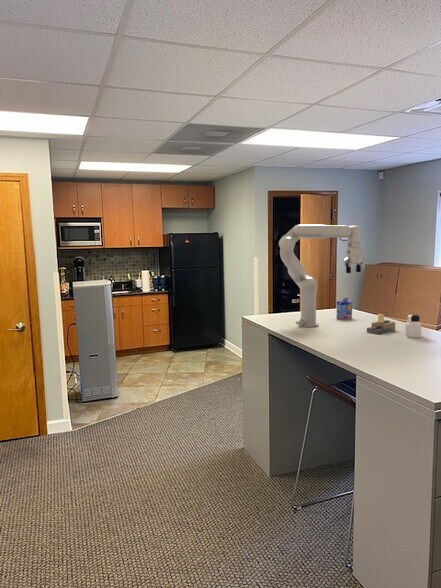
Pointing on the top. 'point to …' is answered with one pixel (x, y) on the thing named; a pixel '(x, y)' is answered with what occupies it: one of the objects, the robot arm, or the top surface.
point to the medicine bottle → (413, 326)
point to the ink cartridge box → (344, 309)
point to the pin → (381, 318)
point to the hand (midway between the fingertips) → (353, 272)
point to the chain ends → (381, 327)
